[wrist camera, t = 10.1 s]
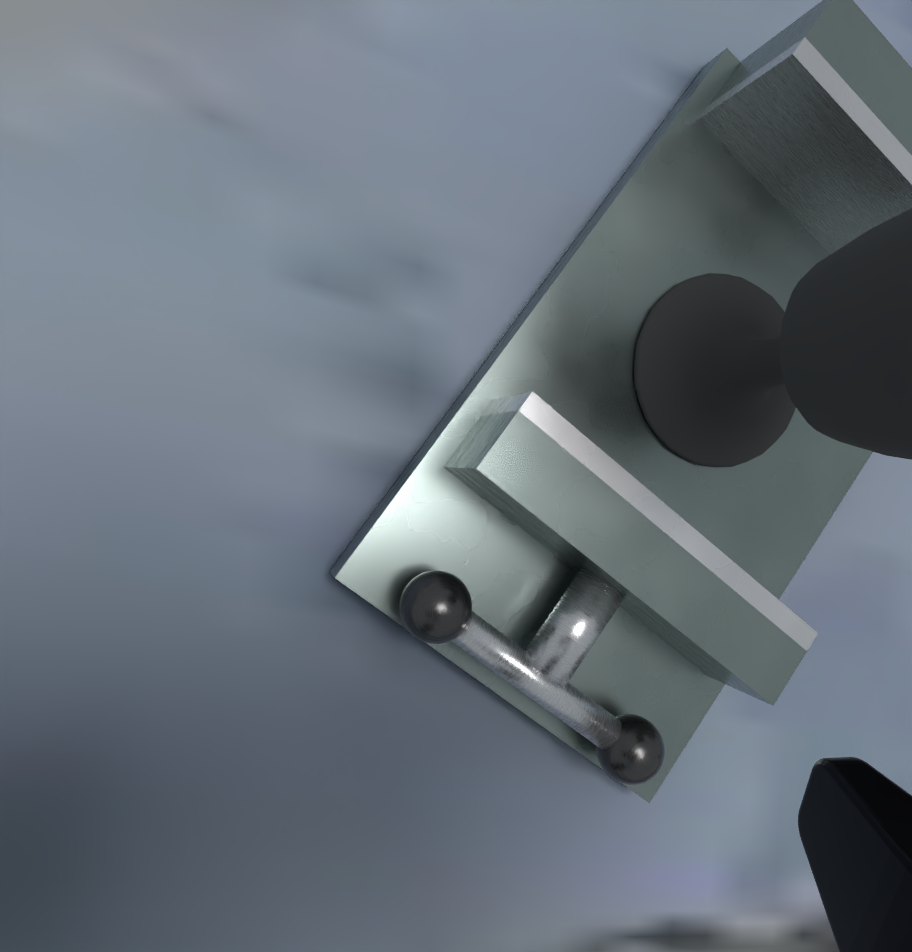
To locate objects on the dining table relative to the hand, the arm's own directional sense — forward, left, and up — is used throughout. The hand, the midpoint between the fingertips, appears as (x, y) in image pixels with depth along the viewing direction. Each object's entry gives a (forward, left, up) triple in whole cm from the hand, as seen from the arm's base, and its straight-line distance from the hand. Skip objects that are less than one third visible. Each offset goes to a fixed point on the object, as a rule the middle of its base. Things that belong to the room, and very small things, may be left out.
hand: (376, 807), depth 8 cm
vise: (+8, -7, -11) cm, 16 cm away
